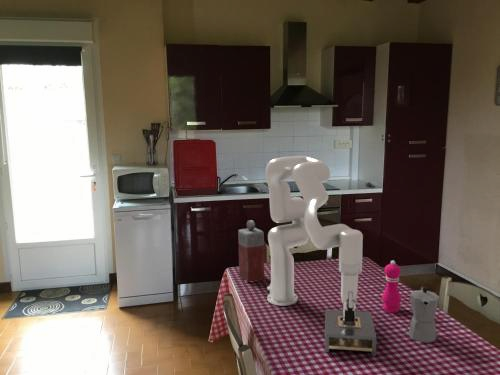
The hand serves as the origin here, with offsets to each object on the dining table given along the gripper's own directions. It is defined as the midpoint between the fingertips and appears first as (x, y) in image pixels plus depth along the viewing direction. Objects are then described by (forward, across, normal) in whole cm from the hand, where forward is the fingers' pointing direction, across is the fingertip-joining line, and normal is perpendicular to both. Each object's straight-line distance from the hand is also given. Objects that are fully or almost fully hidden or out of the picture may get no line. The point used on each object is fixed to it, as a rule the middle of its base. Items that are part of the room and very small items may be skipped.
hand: (349, 317), depth 151 cm
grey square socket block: (+8, 0, 0) cm, 8 cm away
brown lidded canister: (+9, -52, -41) cm, 67 cm away
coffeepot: (+8, -7, +26) cm, 28 cm away
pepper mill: (+8, -26, +18) cm, 33 cm away
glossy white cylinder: (+7, 0, 0) cm, 7 cm away
